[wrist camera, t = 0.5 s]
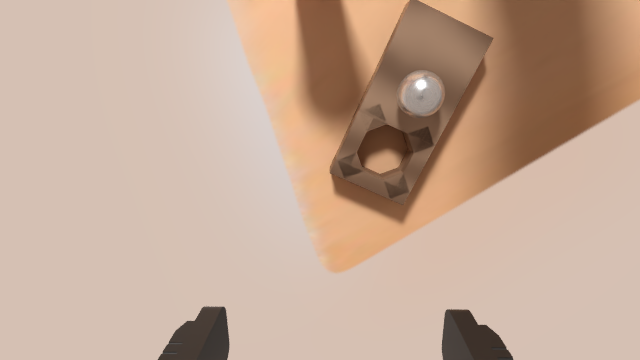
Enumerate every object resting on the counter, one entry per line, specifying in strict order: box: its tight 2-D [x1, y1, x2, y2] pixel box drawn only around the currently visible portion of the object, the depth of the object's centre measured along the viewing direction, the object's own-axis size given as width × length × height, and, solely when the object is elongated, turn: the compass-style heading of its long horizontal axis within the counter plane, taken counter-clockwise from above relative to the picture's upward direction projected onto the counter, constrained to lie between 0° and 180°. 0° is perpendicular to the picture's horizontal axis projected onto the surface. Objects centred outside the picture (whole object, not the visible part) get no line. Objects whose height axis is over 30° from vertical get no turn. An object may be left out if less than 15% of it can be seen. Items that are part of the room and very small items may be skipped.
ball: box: [397, 70, 445, 118], centre depth 30 cm, size 4×4×4 cm
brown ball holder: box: [330, 0, 493, 205], centre depth 34 cm, size 17×8×2 cm, turn 156°
